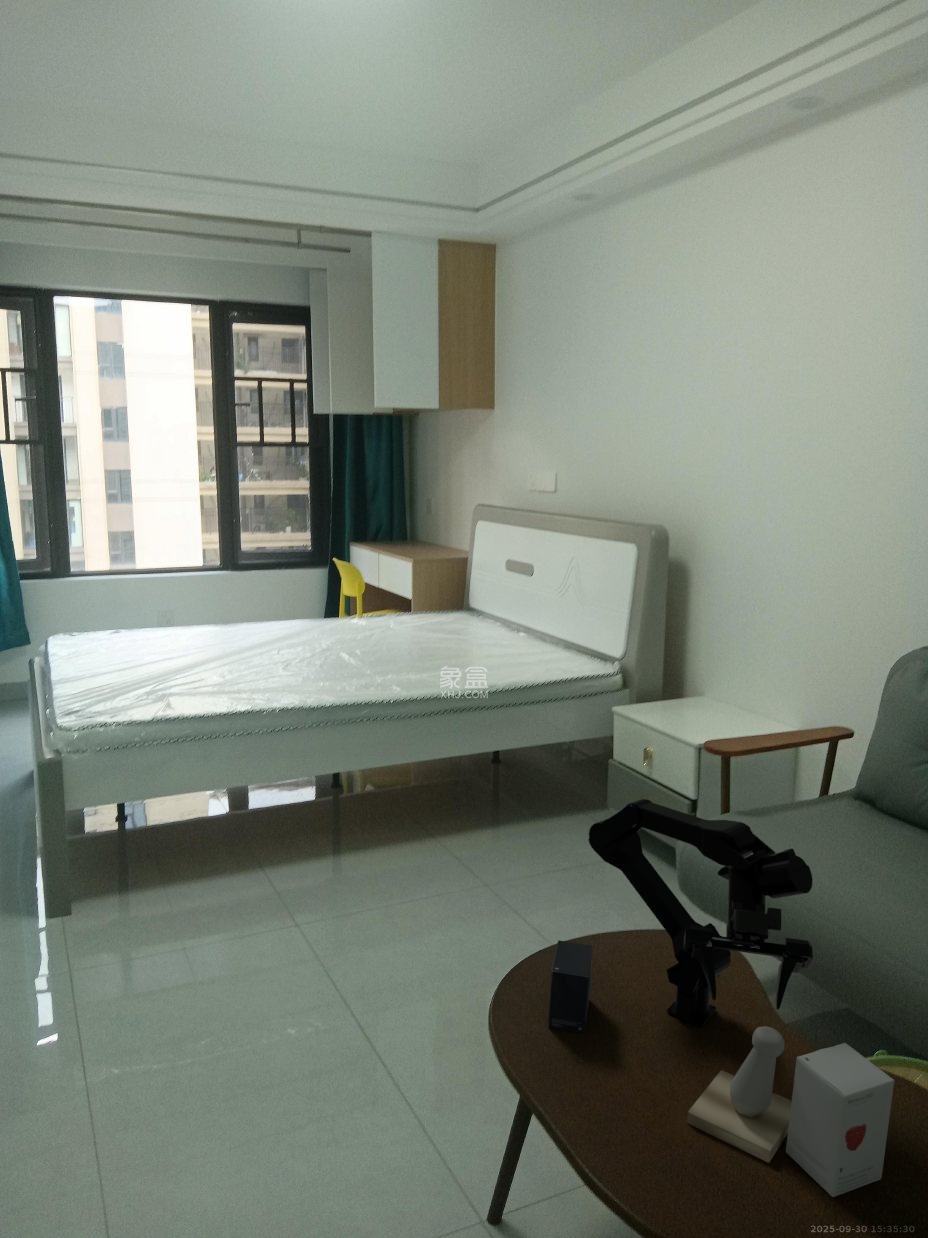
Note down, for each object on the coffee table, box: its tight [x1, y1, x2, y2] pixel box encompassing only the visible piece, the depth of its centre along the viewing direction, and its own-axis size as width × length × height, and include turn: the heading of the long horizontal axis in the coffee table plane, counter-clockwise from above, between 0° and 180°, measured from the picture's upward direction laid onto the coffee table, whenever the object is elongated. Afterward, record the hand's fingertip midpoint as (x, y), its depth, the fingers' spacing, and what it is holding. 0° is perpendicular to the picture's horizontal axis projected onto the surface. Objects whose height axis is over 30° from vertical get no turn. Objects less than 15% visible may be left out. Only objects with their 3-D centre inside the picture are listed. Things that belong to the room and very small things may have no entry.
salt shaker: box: [730, 1025, 785, 1118], centre depth 134 cm, size 6×6×13 cm
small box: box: [547, 940, 593, 1034], centre depth 160 cm, size 11×6×10 cm, turn 168°
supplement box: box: [785, 1042, 895, 1198], centre depth 127 cm, size 9×9×15 cm
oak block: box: [686, 1069, 792, 1163], centre depth 136 cm, size 12×12×2 cm
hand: (745, 1004), depth 141 cm, fingers open, 9 cm apart
